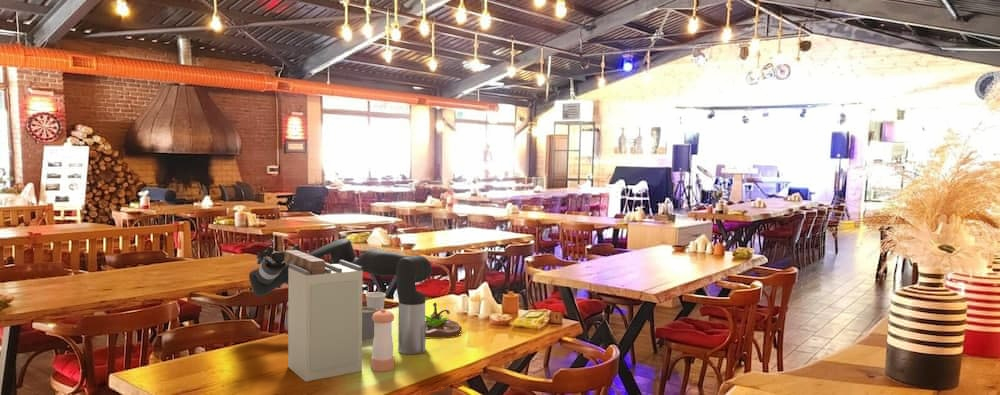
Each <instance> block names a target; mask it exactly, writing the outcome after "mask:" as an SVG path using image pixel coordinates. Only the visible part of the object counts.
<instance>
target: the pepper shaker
mask: <svg viewBox="0 0 1000 395" xmlns="http://www.w3.org/2000/svg"><path fill="white" fill-rule="evenodd" d="M372 320H373V322H375V323H374V338H373V340H372V341H373V342H372V346H371V349H372V351H371V352H372V356H371V359H370V362H371V363H370V369H371V370H372V371H374V372H389V371H392V370H394V369H395V356H394V342H393V335H392V329H393V328H392V327H393V326H392V324H393V323H392V322H394V320H395V315H394V313H393V312H392V311H390V310H386V309H385V308H383V309H381V311H377V312H375V313H374V314H373V316H372Z"/></svg>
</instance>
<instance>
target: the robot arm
mask: <svg viewBox="0 0 1000 395" xmlns="http://www.w3.org/2000/svg"><path fill="white" fill-rule="evenodd" d="M289 250H298V251H300V252H302V249H301V248H300V247H299V245H298V244H295V245H294V246H293V247H292V248H291V249H286V250H283V251H274V248H273V246H269V247H268V248H266V250H264V251H263V250H260V251H259V252H258V253H257V255H256V257H255V258H256V262H257V263H256V264H257V265H259V267H258V268H254V269H252V270H251V271H250V272H249V274H248V278H249V282H250V285H251V289H252V291H253V293H254V295H255V296H257V297H264V296H267V295H268V294H270V293H271V292H273V291H274V290H276V289H277V288H279V287H280V286H282V285H284V284H286V283H288V268H289V265H288V264H286V263H284V251H289ZM307 254H308V255H311V256H314V257H316V258H319V259H322V258H323V257H325V256H328V255H329V257H330V260H331V264H339V260H344V261H347V262H350V263H352V264H355V265H358V266H361V267H362V271H363V273H367V274H372V275H376V276H381V277H383V276H385V277H387V276H395V277H396V294H397V297H398V329H397V330H398V335H397V336H398V339H397V341H398V343H397V347H398V348H397V351H398V352H399V353H400V354H404V355H417V354H424V353H425V350H426V340H427V338H426V322H425V321H426V320H425V319H426V318H425V316H426V294H425V293H424V292H421V291H418V290H417V287H416V283H420V282H423V281H426V280H427V279H428V278H430V276H431V275H432V271H433V267H432V264H431V262H430V261H429V259H428V258H426V257H425V256H422V255H406V254H405V255H404V254H399V253H395V252H391V251H385V250H383V249H382V250H381V249H377V248H375V249H374V248H371V249H367V250H365V251H363V253H362V254H361V255H360V256H359V257H357V256H356V253H355V250H354V247H353V245H352V242H351V240H350V239H349V238H340V239H337V240H334V241H332V242H329V243H327V244H325V245H323V246H321V247H319V248H317V249H315V250H313V251H311V252H309V253H307Z"/></svg>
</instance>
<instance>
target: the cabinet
mask: <svg viewBox="0 0 1000 395" xmlns="http://www.w3.org/2000/svg"><path fill="white" fill-rule="evenodd" d="M363 273H364V272H363V271H362V267H361V266H358V265H355V264H352V263H350V262H347V261H344V260H339V264H333V263H328V262H326V261H325V274H318V275H311V274H310V271H308V270H306V269H303V268H301V267H299V266H296V265H294V264H289V268H288V282H287V283H288V297H287V298H288V299H287V300H288V301H287V302H288V304H287V306H288V308H287V309H288V310H287V311H288V330H287V331H288V334H287V336H288V338H287V339H288V340H287V342H288V343H287V349H288V351H287V352H288V353H287V356H288V358H287V359H288V360H287V361H288V362H287V363H288V364H287V366H288V368H289V370H291V371H292V372H294V374H296V375H297V376H299V377H300V378H301V379H302V380H303V381H304V383H305V382H310V381H315V380H320V379H326V378H332V377H337V376H341V375H342V376H343V375H348V374H352V373H354V374H355V373H358V372H362V371H363V370H362V369H363V368H362V366H363V362H362V361H363V359H362V358H363V356H362V354H363V339H362V307H363Z"/></svg>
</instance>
